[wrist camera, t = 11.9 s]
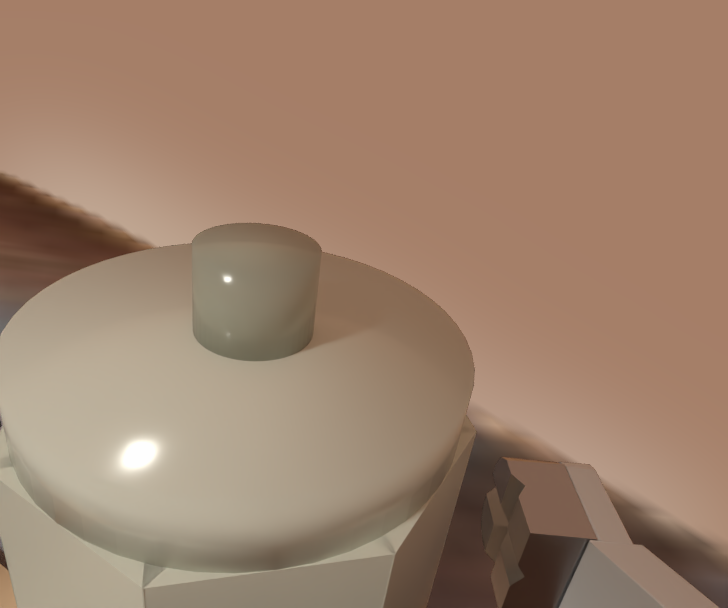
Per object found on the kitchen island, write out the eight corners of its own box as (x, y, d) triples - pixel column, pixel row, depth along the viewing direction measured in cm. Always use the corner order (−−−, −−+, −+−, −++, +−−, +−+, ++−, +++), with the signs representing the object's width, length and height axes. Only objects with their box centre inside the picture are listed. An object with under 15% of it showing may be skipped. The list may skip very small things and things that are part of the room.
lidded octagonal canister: (12, 771, 11) (-154, 236, 6) (226, 557, 16) (237, 157, 11) (251, 1030, 9) (321, 512, 4) (418, 686, 14) (551, 252, 8)
